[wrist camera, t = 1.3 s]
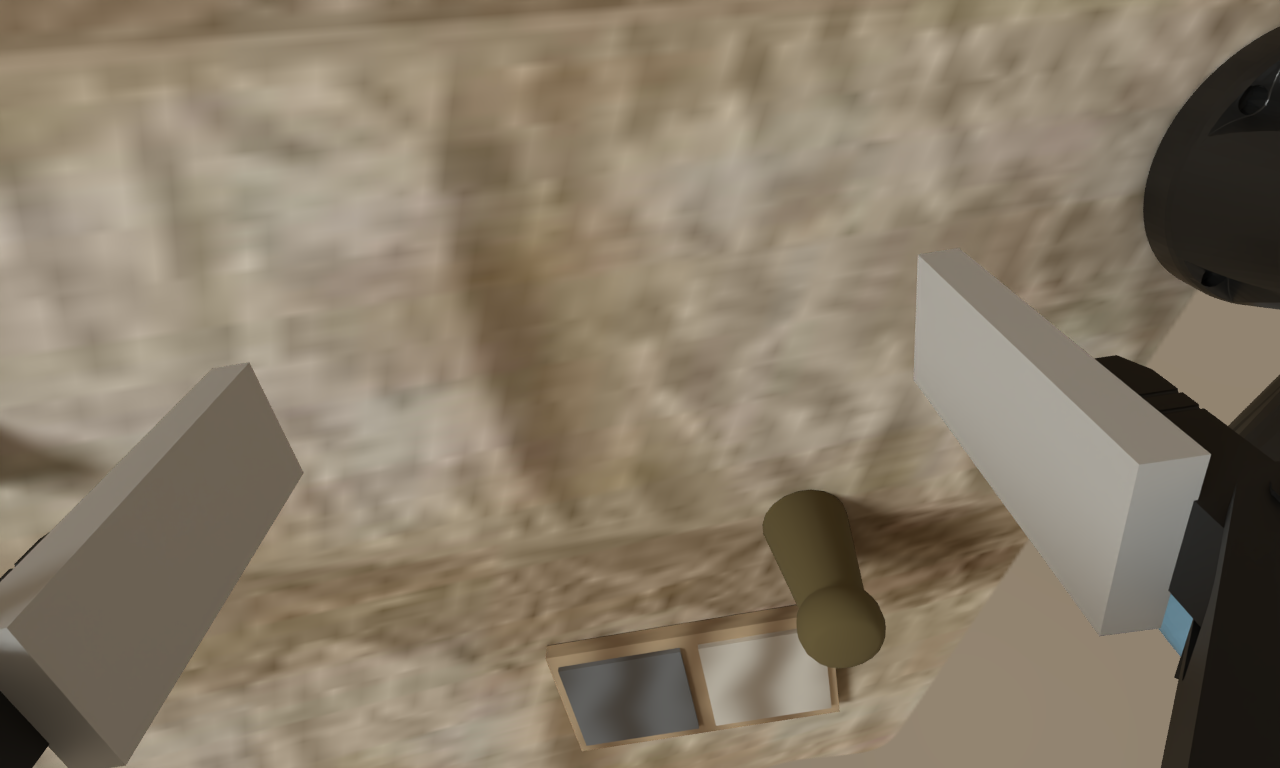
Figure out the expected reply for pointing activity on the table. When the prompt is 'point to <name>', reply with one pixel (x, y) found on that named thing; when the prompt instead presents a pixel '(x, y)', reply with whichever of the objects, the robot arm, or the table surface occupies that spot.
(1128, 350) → the table surface
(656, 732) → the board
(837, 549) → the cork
